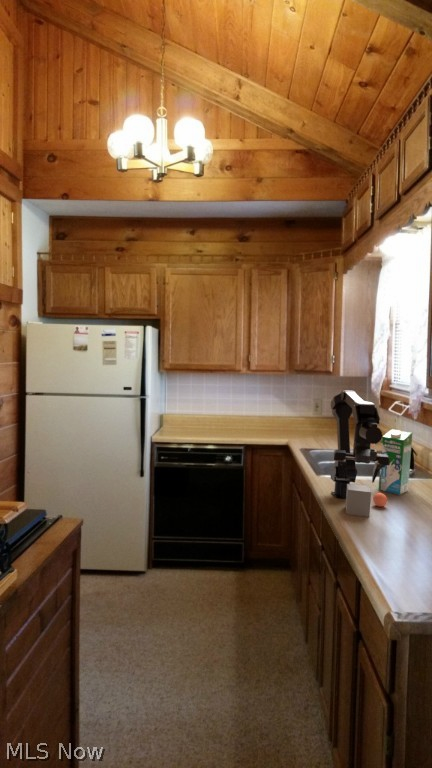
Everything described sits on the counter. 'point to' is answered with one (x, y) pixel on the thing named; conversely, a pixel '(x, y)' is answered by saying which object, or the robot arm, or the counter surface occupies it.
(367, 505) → the grey rectangular box
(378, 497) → the ball
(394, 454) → the milk carton
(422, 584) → the counter surface
